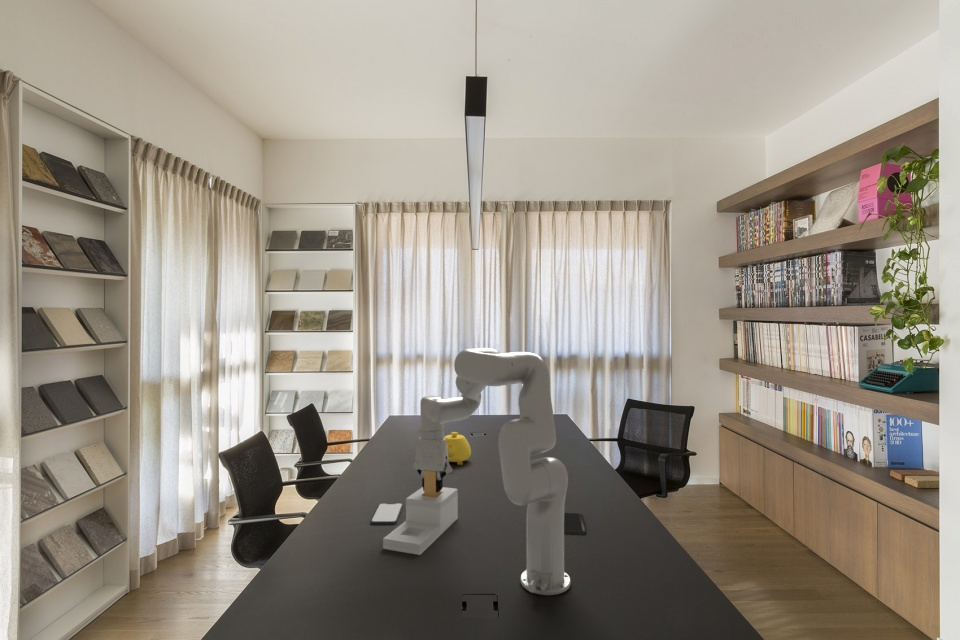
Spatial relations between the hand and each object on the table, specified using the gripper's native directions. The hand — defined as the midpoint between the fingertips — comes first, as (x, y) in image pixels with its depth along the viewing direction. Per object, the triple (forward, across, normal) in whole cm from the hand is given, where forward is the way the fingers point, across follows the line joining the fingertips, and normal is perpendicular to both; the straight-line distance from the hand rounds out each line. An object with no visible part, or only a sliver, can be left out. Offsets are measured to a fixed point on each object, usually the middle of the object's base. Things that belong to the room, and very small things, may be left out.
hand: (432, 489), depth 168 cm
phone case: (+12, -18, +2) cm, 22 cm away
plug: (+3, 0, 0) cm, 3 cm away
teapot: (+12, -21, +67) cm, 71 cm away
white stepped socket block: (+11, 0, -7) cm, 13 cm away
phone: (+12, +43, +15) cm, 47 cm away
